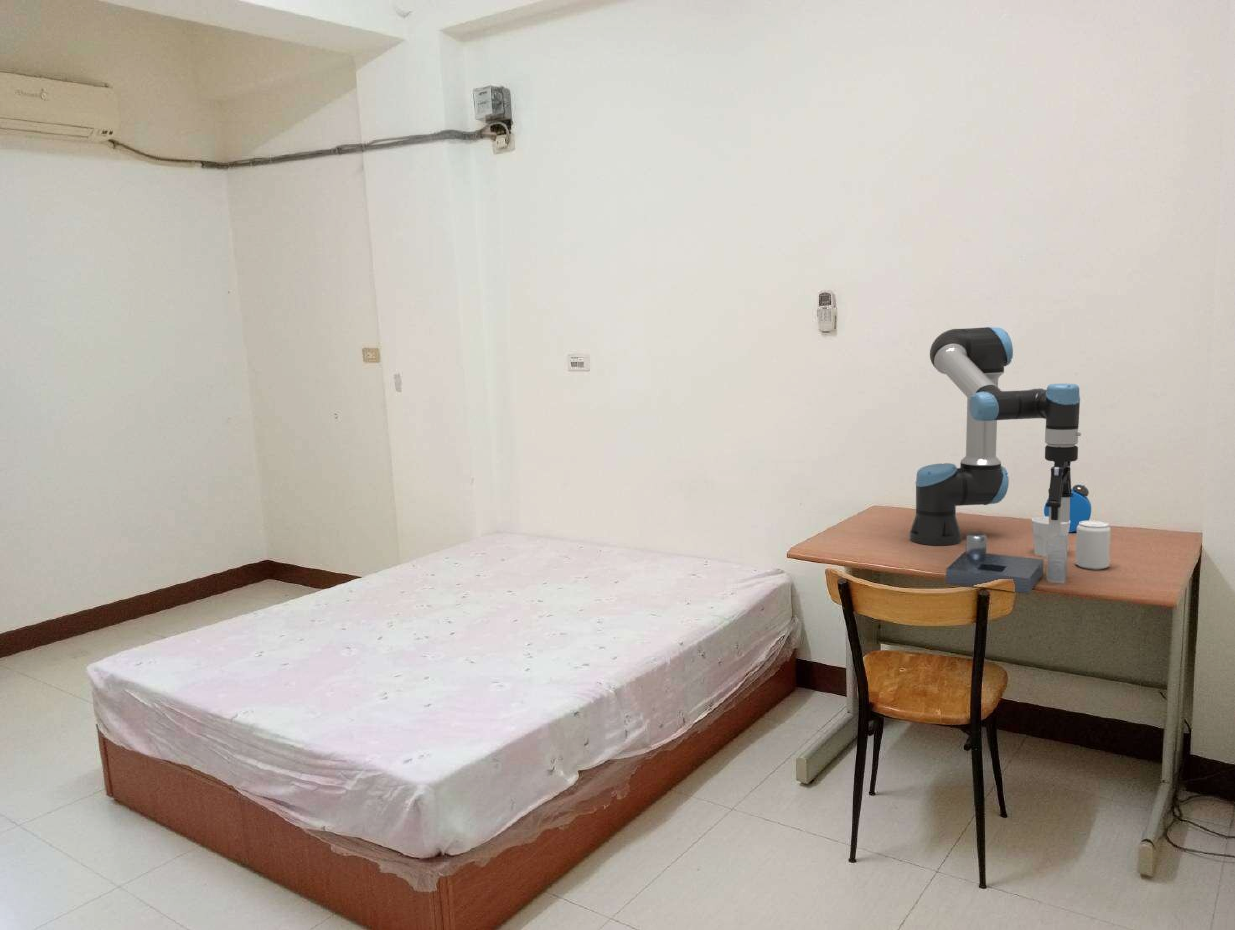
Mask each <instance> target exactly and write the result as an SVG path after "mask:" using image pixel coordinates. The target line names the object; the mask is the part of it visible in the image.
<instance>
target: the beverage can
mask: <svg viewBox="0 0 1235 930" xmlns="http://www.w3.org/2000/svg"><path fill="white" fill-rule="evenodd" d="M1075 537H1076V540H1075V541H1076V542H1075V564H1076V565H1077V566H1079V567H1080V568H1082V569H1086V570H1095V571H1098V570H1104V569H1106V568H1108V567H1109V566H1110V555H1111V553H1110V552H1111V527H1110V524H1109V523H1108V522H1104V521H1101V520H1100V521H1099V520H1089V521H1081V522H1079V525H1078V526H1077V531H1076V535H1075Z"/></svg>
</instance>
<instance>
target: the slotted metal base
mask: <svg viewBox="0 0 1235 930" xmlns="http://www.w3.org/2000/svg"><path fill="white" fill-rule="evenodd" d="M987 538H988V537H987V535H986V534H984V533H979V532H975V533H974V532H973V533H972V532H971V533H967V534H966V550H965V551H964V552H963V553H962V554H961V555H960V556H958V557H957V558H956V559H955V560H954V561H953V562H952V563H951V564H950V565H949V566H948V567H946V568H945V570H946V571H945V584H946V585H953V586H962V587H968V586H974V585H977V584H982V583H987V582H991V581H994V580H998V579H1013V581H1014V584H1015V592H1014V593H1016V594H1025V595H1030V593H1031V592H1032V591H1033V589H1034V587H1035V586H1036V585H1037V584H1038V582H1039V580H1040V579H1041V577H1043V575H1044V567H1045V565H1044V564H1045V563H1044V562H1045V558H1043V559H1042V558H1035V557H1025V556H1015V555H1006V554H995V553H988V552H987V541H988V539H987Z"/></svg>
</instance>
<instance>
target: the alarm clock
mask: <svg viewBox="0 0 1235 930" xmlns="http://www.w3.org/2000/svg"><path fill="white" fill-rule="evenodd" d="M1049 489H1050V487H1049V488H1048V491H1047V492H1048V494H1049ZM1071 490H1072V492H1071V493H1073V497H1070V517H1069V520H1070V527H1069V533H1072V532H1073V533H1074V532H1077V526H1078V525H1079V522H1081V521H1090V519H1091V515H1092V503H1091V501H1090V500H1089V498H1088V496H1089V494H1090V491H1089V489H1088V488H1087V487H1086V486H1085V485H1082V484H1074V486H1073V487H1072V488H1071ZM1046 503H1048V498H1047V500H1046V502H1045V504H1044V507H1043V508H1044V509H1043V514H1044V515H1043V516H1044V517H1046V516H1048V517H1049V507H1046Z"/></svg>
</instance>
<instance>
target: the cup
mask: <svg viewBox="0 0 1235 930" xmlns="http://www.w3.org/2000/svg"><path fill="white" fill-rule="evenodd" d="M1030 520H1031V529H1032V536H1033V552H1034V555H1036V556H1040V557H1043V558H1048V536H1049V535H1050V534H1051V533H1053V534H1065V535H1068V536H1069V533H1070V532H1069V527H1070V520H1069V522H1061V533H1054V532H1048V531H1049V517H1048V516H1046V517H1045V516H1036V517H1032V518H1031V519H1030Z"/></svg>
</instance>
